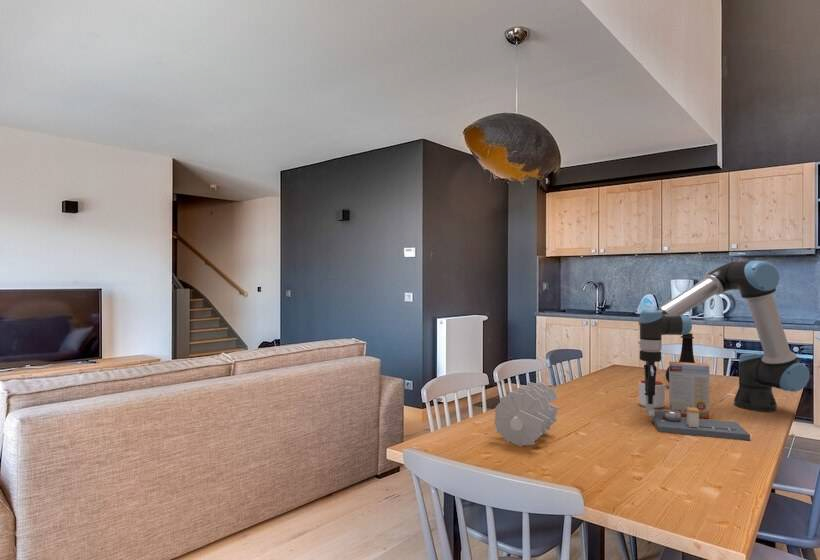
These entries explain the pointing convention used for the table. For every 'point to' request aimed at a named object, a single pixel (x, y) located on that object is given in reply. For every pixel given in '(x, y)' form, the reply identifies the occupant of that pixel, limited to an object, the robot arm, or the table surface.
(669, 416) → the dial
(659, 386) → the cup
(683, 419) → the console
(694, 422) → the block
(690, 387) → the cracker box
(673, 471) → the table surface
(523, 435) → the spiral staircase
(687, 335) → the glass bottle
